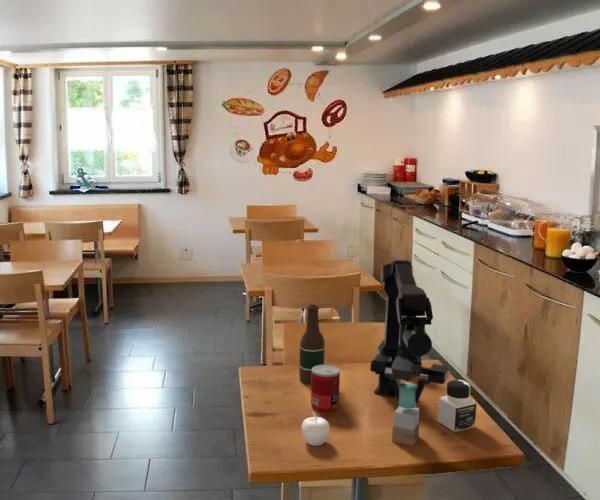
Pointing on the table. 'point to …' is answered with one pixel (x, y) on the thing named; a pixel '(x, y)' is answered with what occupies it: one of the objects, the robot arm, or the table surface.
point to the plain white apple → (315, 430)
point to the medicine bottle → (457, 407)
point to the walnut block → (405, 435)
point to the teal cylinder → (407, 395)
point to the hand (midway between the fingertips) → (407, 400)
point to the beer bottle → (311, 346)
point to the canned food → (325, 387)
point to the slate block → (406, 418)
